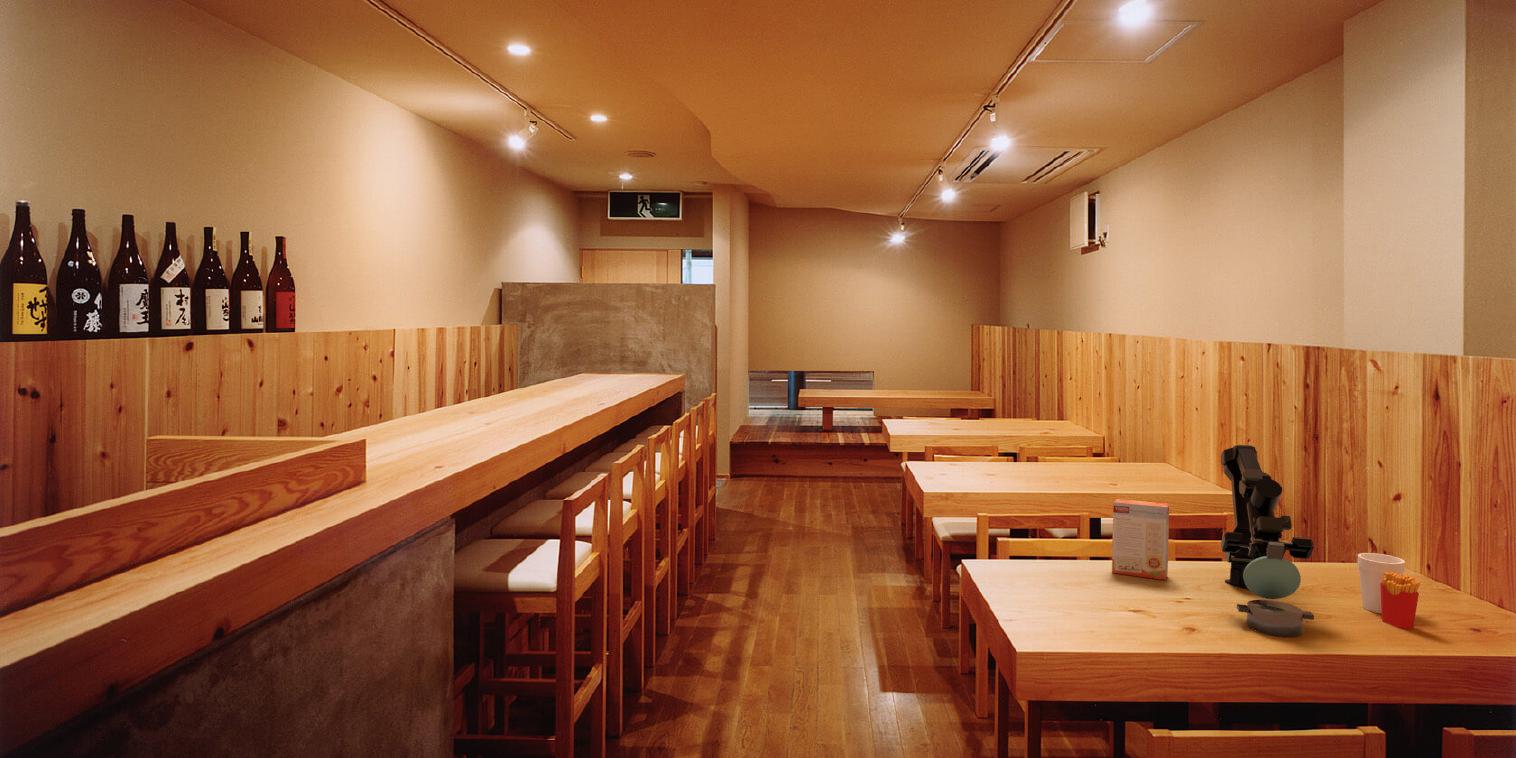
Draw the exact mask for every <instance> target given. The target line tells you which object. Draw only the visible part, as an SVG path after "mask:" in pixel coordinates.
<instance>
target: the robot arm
mask: <svg viewBox="0 0 1516 758" xmlns="http://www.w3.org/2000/svg"><path fill="white" fill-rule="evenodd" d="M1258 458H1259V457H1258V451H1257V449H1256V446H1254V445H1247V444H1246V445H1245V444H1236V445H1233V446H1232V447H1230V448H1226V449H1224V450H1222V452H1221V454H1220V465H1221V466H1222V467H1223V468H1222V469H1223V473H1224V475H1225V476H1226V477H1227V478H1228V480H1229V481H1230V484H1231V494H1232V495H1231V496H1232V497H1231V498H1232V505H1233V507H1232V508H1233V517H1234V518H1233V520H1234V530H1232V531H1225V532H1224V533H1223V535H1222V538H1221V541H1220V543H1221V544H1220V545H1221V546H1220V547H1221V551H1222V552H1224V555H1225V557H1224V558H1225V560H1226V562H1227V563H1229V564H1230V568H1229V569H1230V570H1229V572H1230V573H1229V574H1230V575H1229V579H1225V580H1224V582H1225V583H1226V584H1229V585H1233V586H1236V587H1239V588H1243V589H1248V588H1247V587H1246V585H1245V582H1244V578H1243V573H1244V570H1245V568H1246V566H1247V565H1248V564H1249V563H1250V562H1251V561H1253V560H1255V559H1257V558H1260V557H1264V556H1266V555H1267V548H1268V542H1279V543H1283V544H1284V552H1283V558H1285V554H1286V552H1287V551H1288V553H1289V556H1291V557H1292V558H1293V559H1301V560H1307V559H1310V558H1311V556H1312V553H1313V551H1314V549H1315V545H1314V541H1313V540H1312V539H1311V538H1310V537H1300V536H1299V537H1298V536H1293V537H1292V539H1291V541H1282V540H1281V541H1280V539H1281V538H1282V537H1283V534H1282V532H1284V531H1290V530H1292V519H1291V516H1290V515H1281V516H1280V517H1276V515H1275V509H1276V507H1278V504H1279V502H1280V498H1281V495H1282V493H1283V487H1282V485H1281V484H1280V483H1279V482H1278V481H1276V480H1274V479H1273V478H1272V476H1271V475H1270V474H1269V473H1267V472H1264V471H1263V470H1262V467H1261V465H1260V463H1259V459H1258ZM1248 590H1249V589H1248Z"/></svg>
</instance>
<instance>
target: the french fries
mask: <svg viewBox="0 0 1516 758" xmlns="http://www.w3.org/2000/svg"><path fill="white" fill-rule="evenodd" d="M1420 585H1421V582H1420V581H1419V580H1418V579H1416V578H1415V577H1414V576H1413V575H1411V576H1410V575H1409V574H1406V575H1404V574H1403V575H1402V574H1398V573H1394V572H1390V573H1389V572H1384V576H1383V583H1380V587H1381V610H1382V613H1381V620H1382V622H1383V623H1386V624H1388V625H1391V626H1393V627H1396V628H1399V629H1405V630H1412V629H1414V627H1415V626H1414V625H1415V619H1416V613H1417V607H1418V600H1419V595H1420V593H1419V591H1418V590H1419V587H1420Z"/></svg>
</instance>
